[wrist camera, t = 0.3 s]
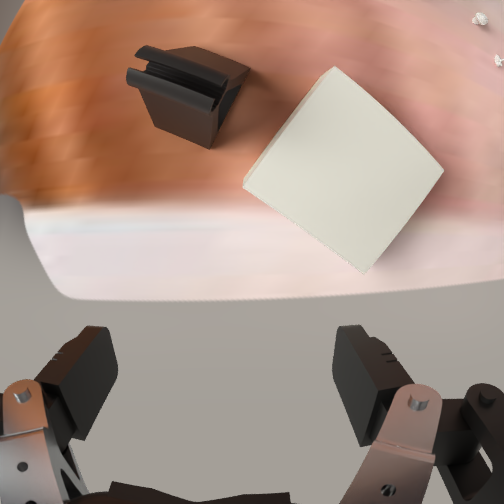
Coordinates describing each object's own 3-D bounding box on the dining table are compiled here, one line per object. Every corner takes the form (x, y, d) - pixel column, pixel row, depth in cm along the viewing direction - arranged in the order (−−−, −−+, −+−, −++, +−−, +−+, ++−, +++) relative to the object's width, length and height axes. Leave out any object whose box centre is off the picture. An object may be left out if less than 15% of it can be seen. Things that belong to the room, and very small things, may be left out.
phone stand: (209, 149, 29) (185, 160, 18) (155, 126, 28) (102, 126, 16) (251, 69, 26) (252, 30, 15) (195, 46, 25) (164, 1, 14)
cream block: (321, 75, 26) (334, 65, 21) (419, 163, 29) (444, 170, 24) (243, 178, 30) (242, 187, 25) (349, 254, 33) (364, 274, 28)
